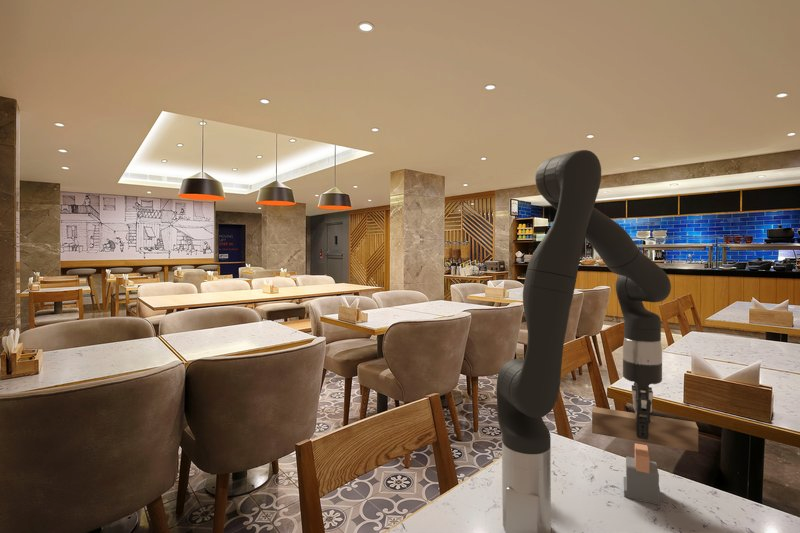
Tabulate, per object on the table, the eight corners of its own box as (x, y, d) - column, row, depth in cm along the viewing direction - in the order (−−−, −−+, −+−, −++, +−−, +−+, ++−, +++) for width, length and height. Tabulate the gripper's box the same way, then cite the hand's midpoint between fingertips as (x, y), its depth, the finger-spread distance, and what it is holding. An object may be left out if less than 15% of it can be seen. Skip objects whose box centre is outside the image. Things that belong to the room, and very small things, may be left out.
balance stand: (661, 505, 86) (661, 460, 85) (624, 496, 89) (624, 452, 89) (658, 490, 91) (658, 447, 91) (623, 482, 94) (623, 441, 94)
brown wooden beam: (695, 444, 86) (695, 422, 86) (698, 452, 83) (698, 428, 83) (592, 427, 96) (592, 406, 96) (592, 433, 93) (592, 411, 92)
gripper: (665, 369, 81) (665, 452, 81) (658, 353, 93) (658, 425, 94) (623, 364, 84) (623, 444, 85) (622, 349, 97) (622, 419, 97)
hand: (641, 434), depth 89 cm, fingers closed on brown wooden beam, 3 cm apart
